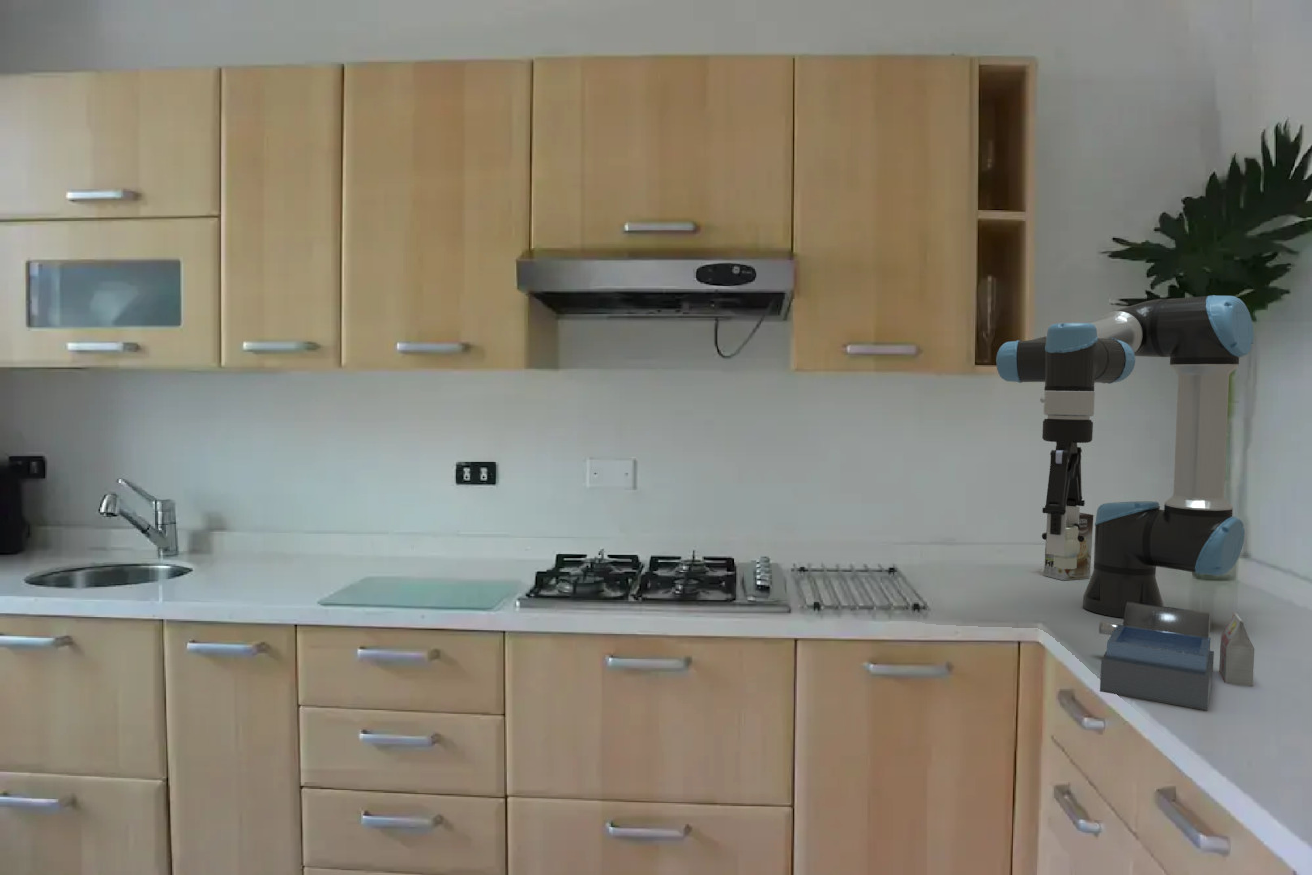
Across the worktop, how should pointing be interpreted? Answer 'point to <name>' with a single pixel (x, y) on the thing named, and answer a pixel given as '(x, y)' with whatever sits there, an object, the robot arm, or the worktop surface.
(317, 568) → the worktop surface
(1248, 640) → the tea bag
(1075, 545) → the valve
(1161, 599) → the robot arm
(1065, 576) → the coffee box
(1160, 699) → the motor
